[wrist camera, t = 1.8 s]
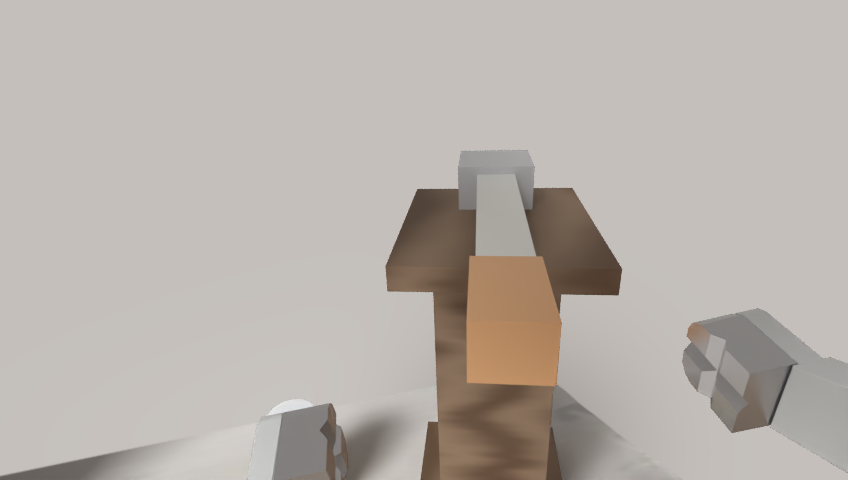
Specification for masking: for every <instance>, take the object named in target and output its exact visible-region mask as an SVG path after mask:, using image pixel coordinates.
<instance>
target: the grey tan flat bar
mask: <svg viewBox="0 0 848 480" xmlns="http://www.w3.org/2000/svg"><path fill="white" fill-rule="evenodd" d="M458 182H459V184H458V185H459V210H476V255H475V256H469V277H468V298H467V320H466V328H467V383H484V384H509V385H535V386H556V384H557V372H558V360H559V348H560V337H561V324H562V323H561V319H560V316H559V312H558V309H557V305H556V302H555V298H554V295H553V291H552V288H551V284H550V281H549V277H548V274H547V270H546V267H545V263H544V260H543V256H536V253H535V249H534V246H533V242H532V238H531V234H530V230H529V226H528V222H527V219H526V215H525V211H524V210H532V206H533V185H534V164H533V162H532V159H531V157H530V155H529V153H528V150H504V151H503V150H501V151H500V150H499V151H461V154H460V160H459V166H458Z"/></svg>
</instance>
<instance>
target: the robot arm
mask: <svg viewBox="0 0 848 480" xmlns="http://www.w3.org/2000/svg"><path fill="white" fill-rule="evenodd" d="M687 337H688V338H689V339H690V341H691V344H689V346H688V347H687V348H686V349H685V350H684V354H683V360H682V362H683V366H684V370H685V373H686V376H687V377H688V379H689V381H690V383H691V384H692V385H693V387H694V388H695V389H696V390H697V392H700V393H701V394H703V395H705V396H708V397H710V398H711V409H712V410H713V411H714V412H715V413H716V414H717V416H718V417H719V418H720V419H721V421H722V422H723V423H724V424H725V425H726V426H727V428H728V429H729V430H730V431H731V432H732V433H734V432H739V431H744V430H749V429H753V428H758V427H763V426H768V425H771V426H770V428H772V429H774V430H776V431H777V432H779V433H781V434H783V435H784V436H786V437H787V438H789V439H791V440H793V441H795V442H796V443H798V444H799V445H801V446H803V447H804V448H806V449H808V450H810V451H811V452H813V453H815V454H816V455H818V456H820V457H821V458H823V459H825V460H827V461H828V462H830V463H831V464H833V465H835V466H837V467H838V468H840V469H842V470H843V471H845V472H847V473H848V364H847V363H844V362H842V361H839V360H836V359H833V358H831V357H829V358H824V359H823V358H822V357H821V356H820V355H818V354H817V353H816V352H815V351H813V350H812V349H811V348H810V347H809V346H807V345H806V344H805V343H804V342H802V341H801V340H800V339H799V338H797V337H796V336H795V335H794V334H793V333H791V332H790V331H789V330H788V329H787V328H785V327H784V326H783V325H782V324H781V323H779V322H778V321H777V320H776V319H774V318H773V317H772V316H771V315H770V314H768V313H767V312H766V311H764V310H761V309H758V308H757V309H753V310H748V311H744V312H740V313H736V314H730V315H725V316H721V317H717V318H712V319H708V320H704V321H699V322H695V323H692V324H691V326H690V327H689V328H688V333H687ZM347 472H348V458H347V450H346V443H345V439H344V434H343V431H342V429H341V427H340V426H338V425H336V412H335V410H334V408H333V405H332V404H324V405H319V406H314V407H308V408H303V409H298V410H293V411H288V412H284V413H279V414H274V415H269V416H264V417H261V418H260V420H259V422H258V424H257V428H256V433H255V438H254V444H253V449H252V455H251V460H250V465H249V471H248V476H247V480H344V479H343V478H344V477H345V475H346V473H347Z"/></svg>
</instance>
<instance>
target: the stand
mask: <svg viewBox="0 0 848 480" xmlns="http://www.w3.org/2000/svg"><path fill="white" fill-rule="evenodd" d="M524 211H525V215H526V219H527V222H528V226H529V230H530V234H531V238H532V242H533V246H534V249H535V253H536V256H543V260H544V263H545V267H546V270H547V274H548V277H549V281H550V284H551V288H552V291H553V295H554V298H555V302H556V305H557V309H558V312H559V313H560V301H561V294H573V295H619V288H620V281H621V273H622V268H621V266H620V265H619V263H618V262H617V260H616V258H615V257H614V255H613V254H612V252H611V250H610V249H609V247H608V245H607V244H606V242H605V241H604V239H603V237H602V236H601V234H600V233H599V231H598V229H597V228H596V226H595V224H594V223H593V221H592V219H591V218H590V216H589V215H588V213H587V211H586V210H585V208H584V206H583V205H582V203H581V202H580V200H579V198H578V197H577V195H576V194H575V192H574V190H573V189H572V188H533V206H532V210H524ZM475 255H476V210H459V189H417V192H416V194H415V196H414V199H413V201H412V204H411V206H410V209H409V211H408V213H407V216H406V218H405V221H404V223H403V225H402V228H401V230H400V233H399V235H398V237H397V240H396V242H395V245H394V247H393V250H392V252H391V254H390V257H389V259H388V262H387V264H386V277H387V290H388V291H401V292H402V291H403V292H433V296H434V323H435V350H436V377H437V404H438V422H428V428H427V436H426V443H425V451H424V458H423V466H422V473H421V480H562V478H561V473H560V468H559V462H558V457H557V451H556V446H555V441H554V435H553V430H552V428H550V424H551V412H552V399H553V387H554V386H535V385H509V384H484V383H467V328H466V320H467V298H468V277H469V256H475Z"/></svg>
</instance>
